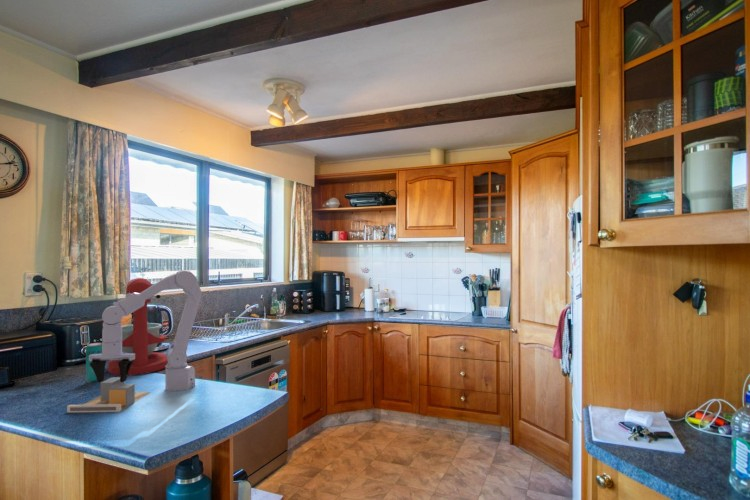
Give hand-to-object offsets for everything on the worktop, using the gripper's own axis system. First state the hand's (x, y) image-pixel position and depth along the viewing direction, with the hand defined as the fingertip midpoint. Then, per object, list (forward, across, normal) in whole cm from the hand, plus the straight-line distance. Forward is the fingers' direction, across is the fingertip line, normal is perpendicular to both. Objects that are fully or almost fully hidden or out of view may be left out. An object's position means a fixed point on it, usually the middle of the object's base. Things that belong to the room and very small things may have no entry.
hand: (112, 381), depth 137 cm
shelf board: (+7, -3, +4) cm, 8 cm away
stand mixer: (+7, +16, -44) cm, 47 cm away
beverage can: (+7, +21, -22) cm, 31 cm away
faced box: (+6, -8, +7) cm, 12 cm away
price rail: (+6, -2, +12) cm, 14 cm away
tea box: (+6, 0, 0) cm, 6 cm away
